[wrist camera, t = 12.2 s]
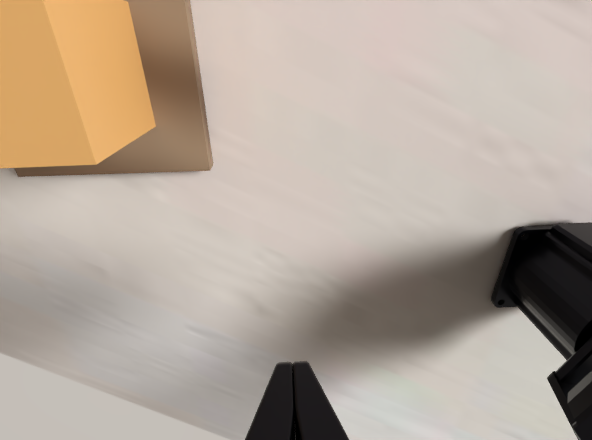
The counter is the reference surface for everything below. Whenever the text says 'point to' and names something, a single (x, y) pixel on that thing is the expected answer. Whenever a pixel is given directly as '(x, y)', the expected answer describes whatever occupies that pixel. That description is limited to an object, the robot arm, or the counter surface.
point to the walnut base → (160, 99)
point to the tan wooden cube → (69, 82)
